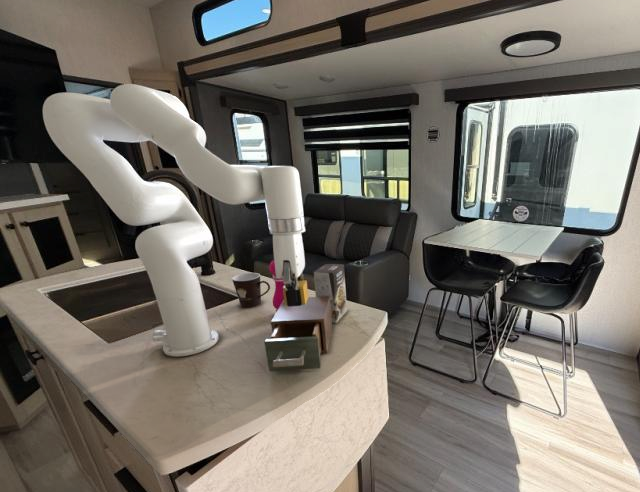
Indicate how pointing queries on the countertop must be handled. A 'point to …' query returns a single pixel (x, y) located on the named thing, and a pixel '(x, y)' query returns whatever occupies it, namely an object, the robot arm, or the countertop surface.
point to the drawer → (294, 347)
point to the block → (303, 289)
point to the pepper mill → (277, 287)
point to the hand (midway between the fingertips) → (297, 300)
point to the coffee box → (332, 288)
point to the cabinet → (307, 316)
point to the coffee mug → (248, 289)
